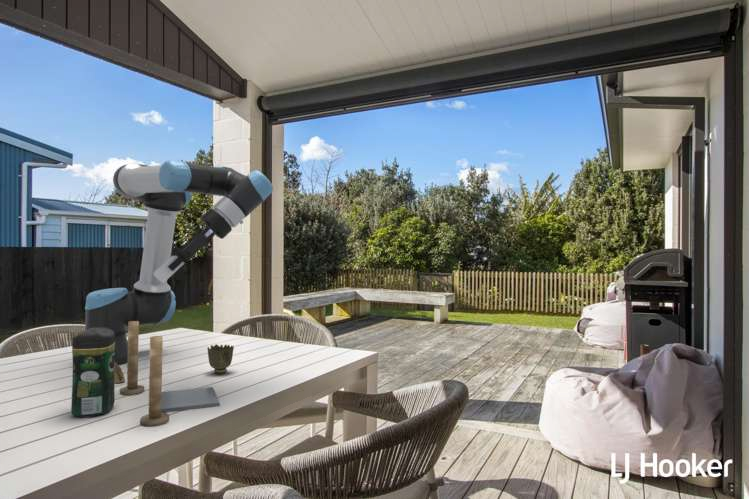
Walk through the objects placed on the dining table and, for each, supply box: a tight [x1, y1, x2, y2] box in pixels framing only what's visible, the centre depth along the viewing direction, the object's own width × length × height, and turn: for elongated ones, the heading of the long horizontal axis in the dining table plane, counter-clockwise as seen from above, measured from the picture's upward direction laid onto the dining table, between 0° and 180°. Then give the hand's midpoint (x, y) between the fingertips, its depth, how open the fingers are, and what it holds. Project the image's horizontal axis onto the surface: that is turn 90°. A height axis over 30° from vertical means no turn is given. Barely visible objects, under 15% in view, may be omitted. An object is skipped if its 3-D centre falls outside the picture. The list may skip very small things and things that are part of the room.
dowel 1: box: [119, 321, 145, 396], centre depth 122 cm, size 6×6×18 cm
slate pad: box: [161, 386, 221, 413], centre depth 116 cm, size 13×14×1 cm
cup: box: [207, 344, 235, 375], centre depth 141 cm, size 8×7×8 cm
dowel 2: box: [139, 335, 170, 428], centre depth 101 cm, size 6×6×18 cm
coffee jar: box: [70, 327, 116, 418], centre depth 107 cm, size 10×8×19 cm
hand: (157, 278), depth 115 cm, fingers open, 13 cm apart
